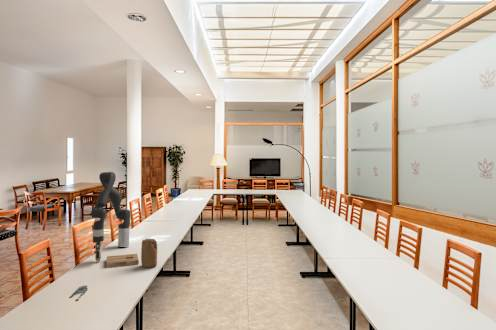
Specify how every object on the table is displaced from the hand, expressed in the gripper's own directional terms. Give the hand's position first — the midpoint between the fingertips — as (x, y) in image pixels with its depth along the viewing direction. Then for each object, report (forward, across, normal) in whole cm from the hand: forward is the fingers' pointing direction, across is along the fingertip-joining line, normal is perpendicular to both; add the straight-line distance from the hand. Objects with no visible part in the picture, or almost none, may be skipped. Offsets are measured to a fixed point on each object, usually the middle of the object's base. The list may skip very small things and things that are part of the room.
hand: (97, 256), depth 239 cm
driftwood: (+6, +56, -8) cm, 57 cm away
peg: (+4, 0, 0) cm, 5 cm away
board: (+4, +6, +17) cm, 19 cm away
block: (+5, +22, +35) cm, 42 cm away
